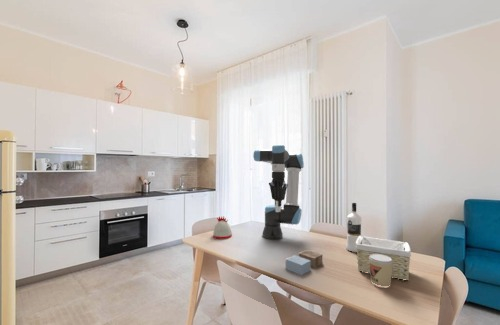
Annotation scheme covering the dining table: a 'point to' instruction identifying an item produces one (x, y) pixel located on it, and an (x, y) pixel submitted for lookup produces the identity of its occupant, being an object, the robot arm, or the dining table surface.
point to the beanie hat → (222, 229)
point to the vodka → (353, 229)
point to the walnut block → (312, 257)
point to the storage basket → (389, 248)
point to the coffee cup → (380, 269)
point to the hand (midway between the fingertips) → (278, 211)
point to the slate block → (298, 264)
